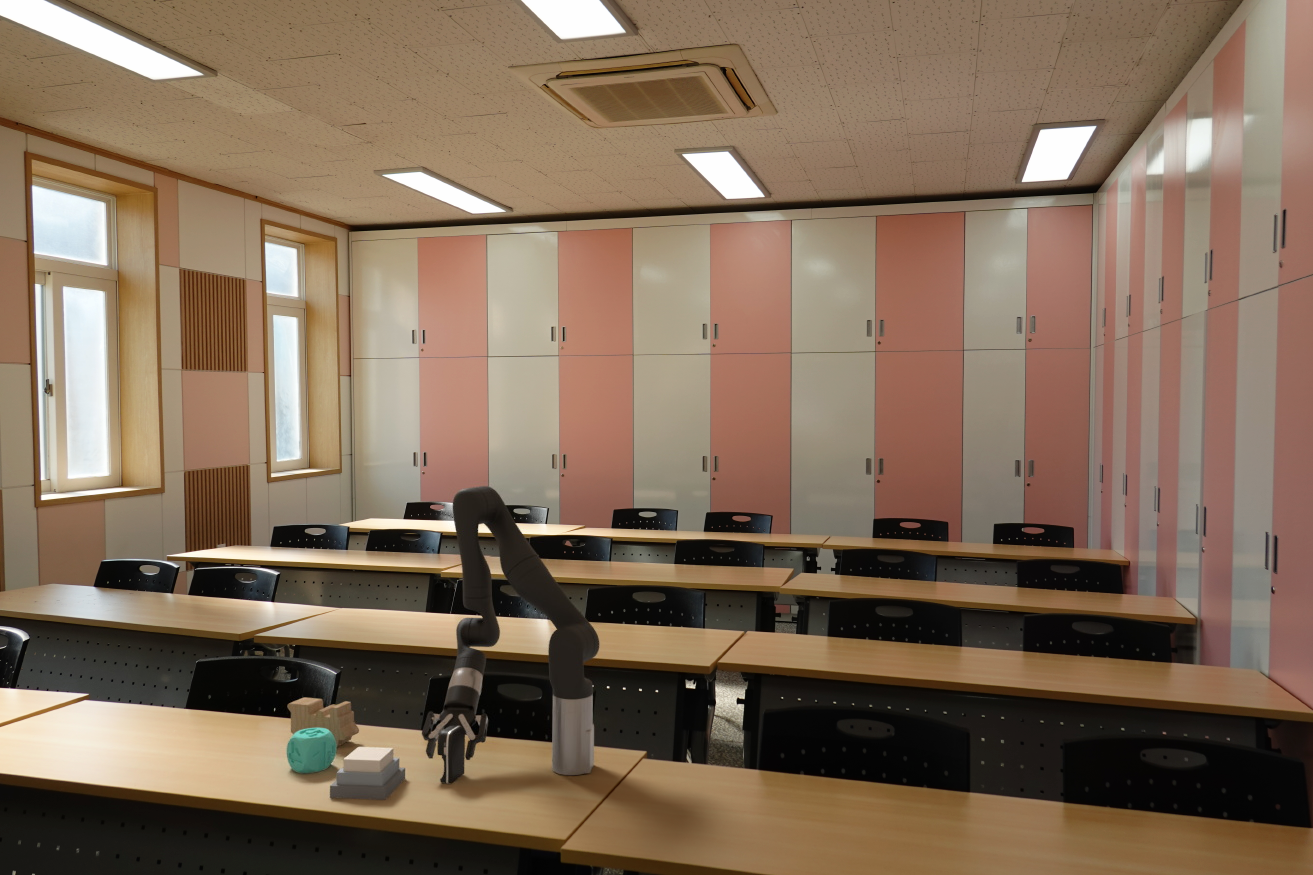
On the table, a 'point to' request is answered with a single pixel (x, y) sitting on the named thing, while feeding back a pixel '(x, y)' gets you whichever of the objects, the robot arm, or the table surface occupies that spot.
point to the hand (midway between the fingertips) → (448, 757)
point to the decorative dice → (311, 750)
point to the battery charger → (452, 752)
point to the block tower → (368, 774)
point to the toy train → (323, 718)
